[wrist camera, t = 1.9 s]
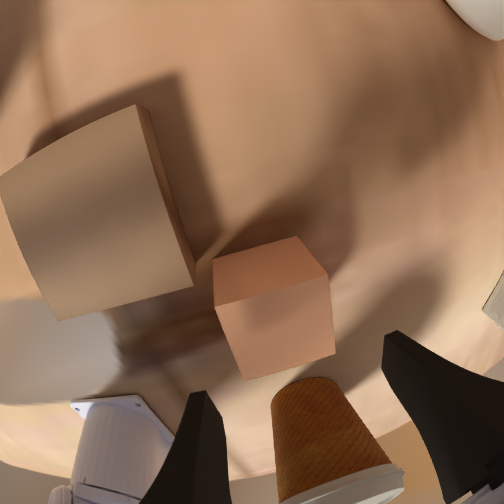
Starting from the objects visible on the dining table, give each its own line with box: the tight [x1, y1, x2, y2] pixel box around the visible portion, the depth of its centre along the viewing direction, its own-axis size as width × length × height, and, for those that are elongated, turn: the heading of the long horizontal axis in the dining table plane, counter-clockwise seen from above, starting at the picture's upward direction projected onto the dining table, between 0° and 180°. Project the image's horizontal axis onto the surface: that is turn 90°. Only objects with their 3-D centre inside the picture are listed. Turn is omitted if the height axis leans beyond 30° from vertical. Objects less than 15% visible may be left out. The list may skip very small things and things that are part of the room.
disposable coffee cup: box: [271, 377, 404, 504], centre depth 17 cm, size 10×10×12 cm
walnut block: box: [0, 104, 196, 321], centre depth 13 cm, size 9×9×3 cm
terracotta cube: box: [212, 236, 335, 381], centre depth 15 cm, size 5×5×5 cm
